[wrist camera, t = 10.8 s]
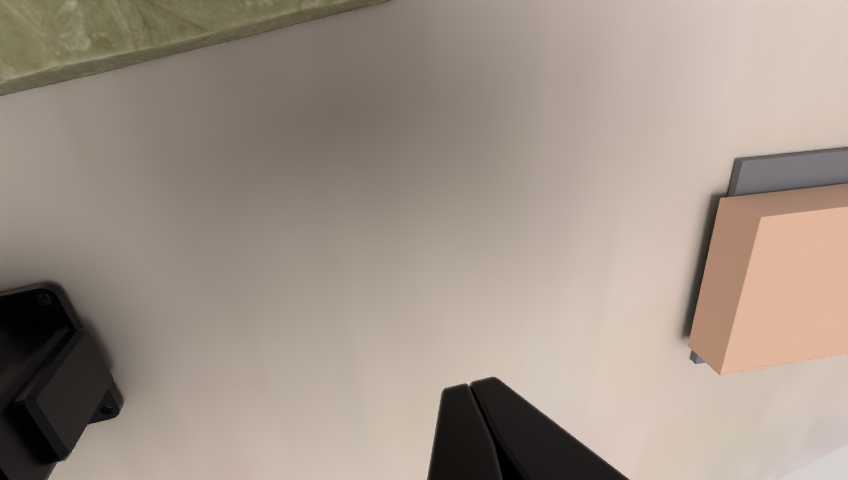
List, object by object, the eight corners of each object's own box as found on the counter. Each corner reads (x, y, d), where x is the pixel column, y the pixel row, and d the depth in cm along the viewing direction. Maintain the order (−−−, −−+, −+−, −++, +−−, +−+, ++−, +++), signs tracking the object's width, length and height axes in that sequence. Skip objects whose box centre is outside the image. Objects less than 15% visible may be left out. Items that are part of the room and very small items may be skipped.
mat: (690, 359, 27) (695, 363, 26) (735, 158, 22) (742, 161, 22) (896, 325, 29) (904, 329, 28) (977, 133, 24) (988, 135, 24)
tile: (720, 375, 23) (900, 344, 25) (760, 217, 20) (967, 191, 21) (685, 343, 26) (853, 316, 27) (717, 196, 22) (906, 174, 24)
